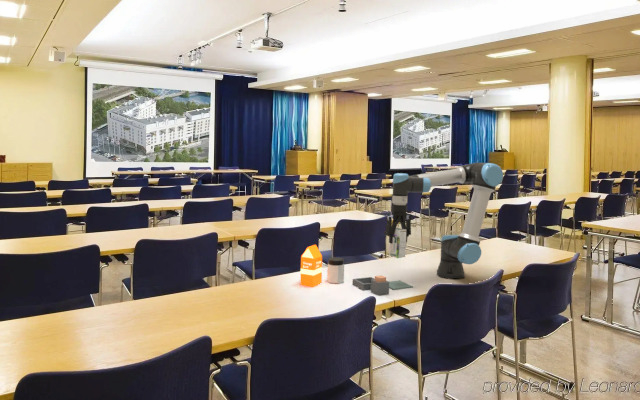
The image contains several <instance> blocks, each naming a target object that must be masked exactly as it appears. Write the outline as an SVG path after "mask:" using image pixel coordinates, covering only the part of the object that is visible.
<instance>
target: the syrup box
mask: <svg viewBox="0 0 640 400" xmlns="http://www.w3.org/2000/svg"><path fill="white" fill-rule="evenodd" d="M393 237H395V241H394V250H391V249H390V248H389V249H390V252H389V257H392V258H395V259H401V258H406V248H407V242H406V229H402V227H401V228H400V227H396V230H395V233H394V236H393Z"/></svg>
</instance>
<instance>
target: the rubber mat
mask: <svg viewBox="0 0 640 400" xmlns="http://www.w3.org/2000/svg"><path fill="white" fill-rule="evenodd" d="M411 288H414V285H412V284H409V283H407V282H404V281H402V280H401V279H400V280H399V279H398V280H391V281H390V280H389V290H393V291H395V290H404V289H405V290H406V289H411Z"/></svg>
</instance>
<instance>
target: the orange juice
mask: <svg viewBox="0 0 640 400" xmlns="http://www.w3.org/2000/svg"><path fill="white" fill-rule="evenodd" d="M322 273H323V255H322V253H321V252H320V250H319V248H318V246H317V244H312V245H310V246H307V247H306V249H305V251H304V252H303V253H302V254H301V256H300V286H305V287H310V288H315V287H318V284H319V285H321V284H322V280H323V279H322V278H323V274H322ZM320 283H321V284H320Z"/></svg>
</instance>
